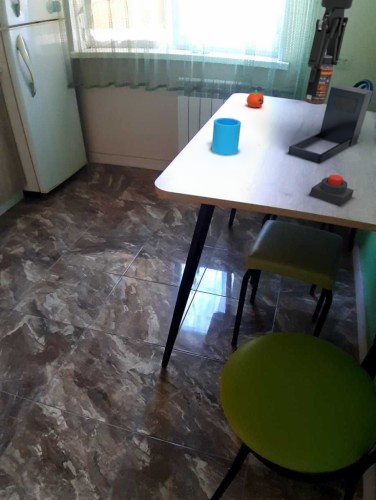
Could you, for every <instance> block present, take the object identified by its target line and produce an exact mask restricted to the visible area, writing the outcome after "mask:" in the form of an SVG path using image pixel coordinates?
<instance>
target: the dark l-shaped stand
mask: <svg viewBox="0 0 376 500" xmlns="http://www.w3.org/2000/svg"><path fill="white" fill-rule="evenodd" d="M373 93H374V92H373V90H371V89H370V90H369V89H364V88H360V87H355V86H350V85H345V84H335V85H332V86H330V90H329V93H328V98H327V101H326V102H327V103H326V106H325V110H324V115H323V119H322V122H321V125H320V131H318V132H316V133H313V134H312V135H310V136H307V137H305V138H304V139H301V140H299V141H297V142H295V143H293V144H291V145H289V146H288V150H287V151H288V152H287V155H290V156H294V157H297V158H300V159H303V160H307V161H310V162H313V163H316V164H321V163H323V162H325V161H326V160H329V159H331V158H332V157H333V156H336V155H337V154H338V153H340V152H342V151H344V150H346V149H348V148H349V147H352V146H354V145H356V144H357V143H358V141H359V138H360V136H361V135H360V134H361V131H362V129H363V128H362V127H363V124H364V121H365V117H366V115H367V112H368V108H369V105H370V102H371V99H372V96H373ZM320 140H325V141H329V142H331V143H336V145H335V146H333V147H331V148H329V149H327V150H326V151H323V152H322V153H318V152H314V151H310V150H308V149H304V148H306V147H307V146H310V145H312V144H313V143H315V142H318V141H320Z"/></svg>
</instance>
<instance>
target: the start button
mask: <svg viewBox="0 0 376 500" xmlns="http://www.w3.org/2000/svg"><path fill="white" fill-rule="evenodd" d="M328 177H329V179H328V182H327V183H329V184H331V185H336V186H339V185H341V184H342V181H343V180H344V177H343V176H342V175H339V174H329V176H328Z"/></svg>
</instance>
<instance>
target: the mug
mask: <svg viewBox="0 0 376 500" xmlns="http://www.w3.org/2000/svg"><path fill="white" fill-rule="evenodd" d="M241 127H242V122H241V121H240V120H238V119H235V118H232V117H218V118H215V119H214V120H213V128H212V139H211V151H212V152H213V153H215V154H217V155H219V156H221V155H222V156H232V155H236V154H237V153H238V152H239V144H240V143H239V142H240V137H241V136H240V135H241V134H240V133H241Z"/></svg>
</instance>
